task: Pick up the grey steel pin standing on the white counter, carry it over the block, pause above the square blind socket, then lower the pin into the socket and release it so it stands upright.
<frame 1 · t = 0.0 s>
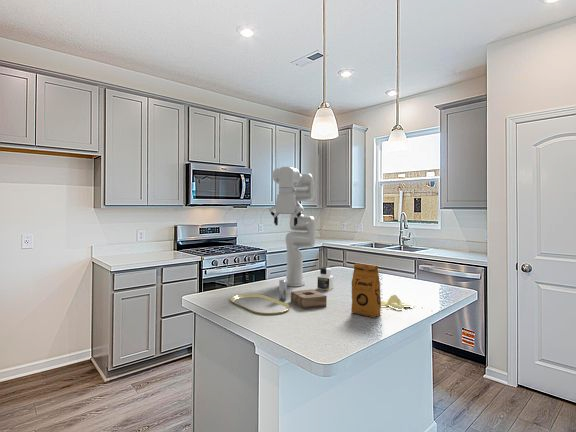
hand: (285, 225, 176), 37 cm above the countertop, tool pointing down, fingers open, 9 cm apart
wavy rubber band: (259, 306, 165), on the countertop
pin: (282, 300, 173), on the countertop
coffee package: (366, 314, 152), on the countertop
bore block: (308, 303, 167), on the countertop
medicine bottle: (325, 288, 199), on the countertop
cloth: (395, 308, 164), on the countertop
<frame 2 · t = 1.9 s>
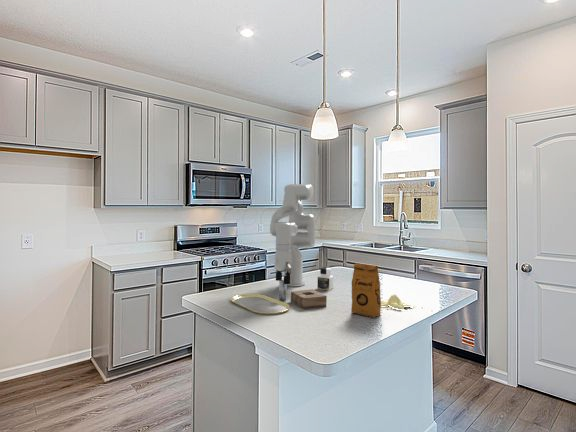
hand: (282, 282, 172), 9 cm above the countertop, tool pointing down, fingers open, 9 cm apart
nothing on the countertop moved.
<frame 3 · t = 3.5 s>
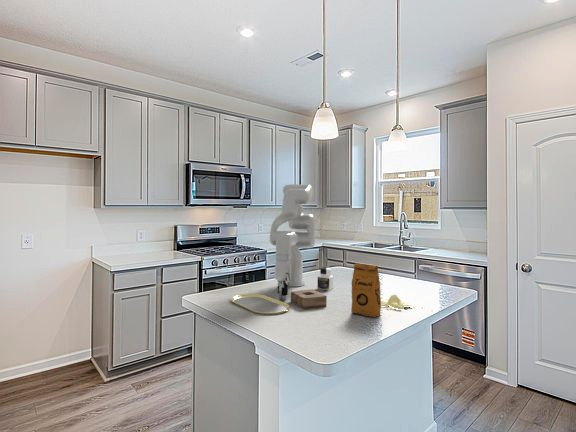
hand: (282, 294, 173), 3 cm above the countertop, tool pointing down, fingers closed on pin, 3 cm apart
pin: (282, 300, 173), on the countertop, touching gripper
everything else where it was.
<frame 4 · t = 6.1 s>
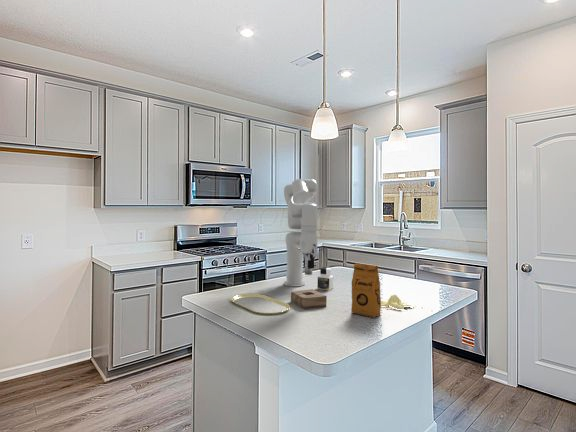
hand: (308, 267, 167), 18 cm above the countertop, tool pointing down, fingers closed on pin, 3 cm apart
pin: (308, 274, 167), point 14 cm above the countertop, touching gripper
everything else where it was.
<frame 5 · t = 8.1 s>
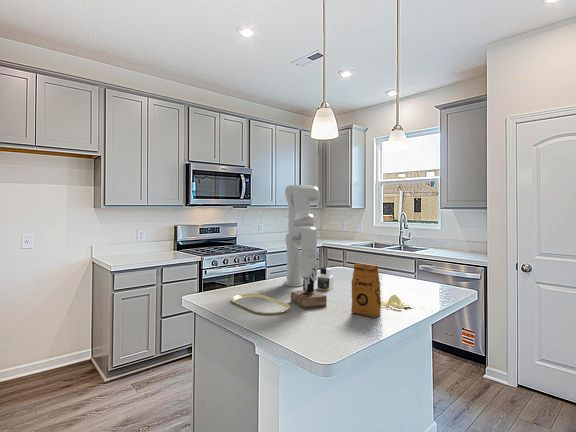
hand: (308, 290, 167), 6 cm above the countertop, tool pointing down, fingers closed on pin, 3 cm apart
pin: (308, 297, 167), point 3 cm above the countertop, touching gripper
everything else where it was.
when the fingers open (6 cm above the countertop, at t = 8.8 s): pin drops 1 cm, resting on bore block.
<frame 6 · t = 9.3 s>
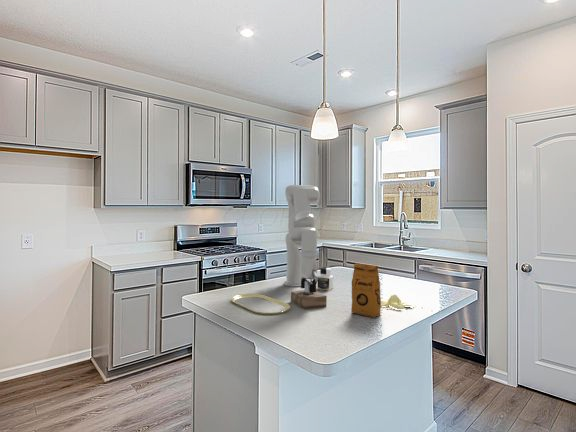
hand: (308, 290, 167), 7 cm above the countertop, tool pointing down, fingers open, 8 cm apart
pin: (308, 301, 167), point 1 cm above the countertop, touching bore block
everything else where it was.
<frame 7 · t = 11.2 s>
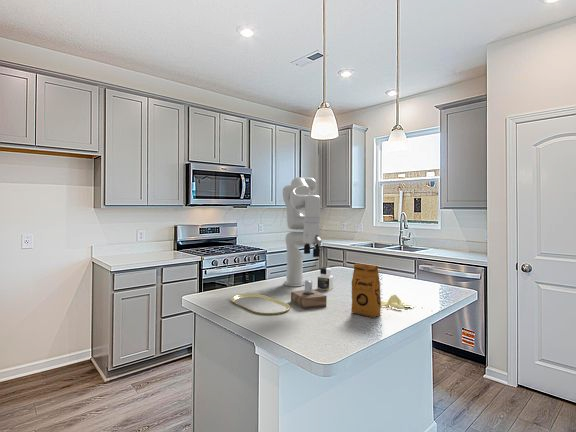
hand: (311, 255, 171), 23 cm above the countertop, tool pointing down, fingers open, 9 cm apart
nothing on the countertop moved.
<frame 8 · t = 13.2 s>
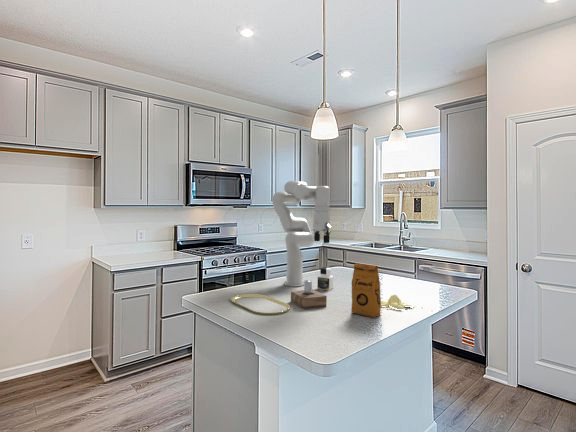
hand: (321, 241, 183), 28 cm above the countertop, tool pointing down, fingers open, 9 cm apart
nothing on the countertop moved.
at the end: pin 0.0 cm off-centre on the bore block, point 1.0 cm above the bore block's base; pin tilted 1°; the gripper is holding nothing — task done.
